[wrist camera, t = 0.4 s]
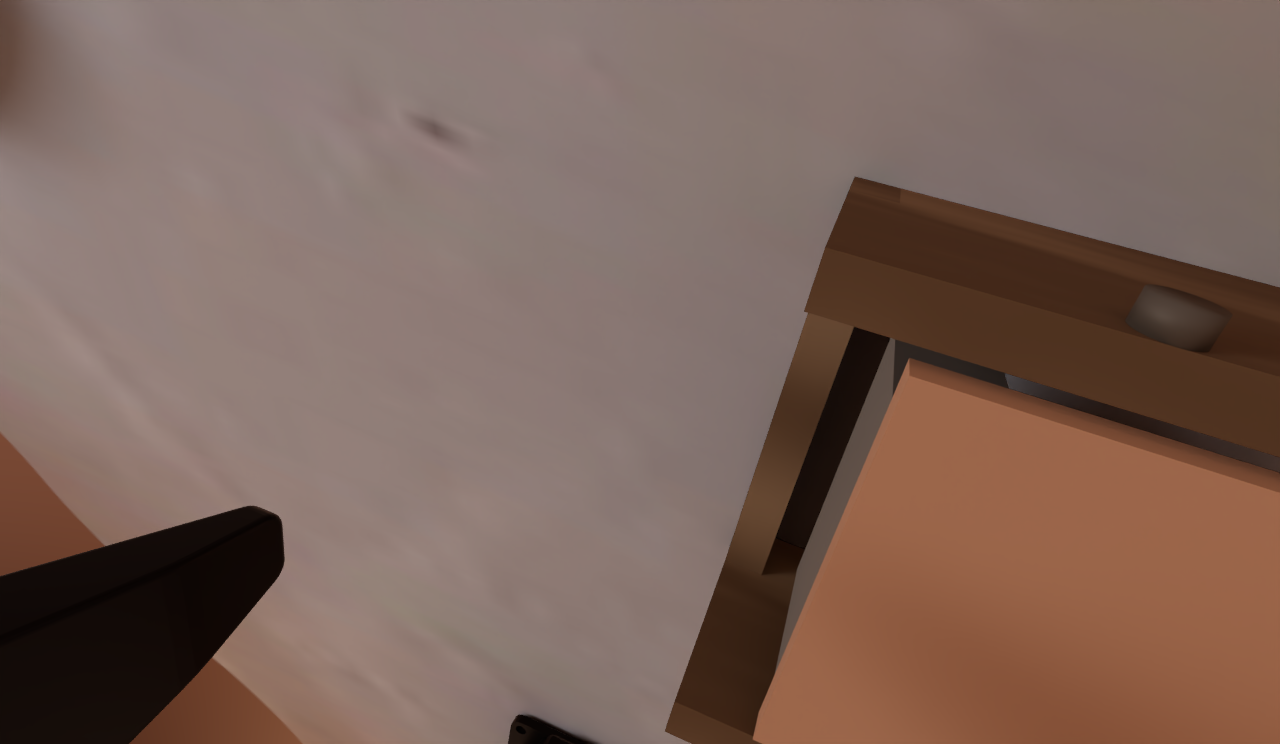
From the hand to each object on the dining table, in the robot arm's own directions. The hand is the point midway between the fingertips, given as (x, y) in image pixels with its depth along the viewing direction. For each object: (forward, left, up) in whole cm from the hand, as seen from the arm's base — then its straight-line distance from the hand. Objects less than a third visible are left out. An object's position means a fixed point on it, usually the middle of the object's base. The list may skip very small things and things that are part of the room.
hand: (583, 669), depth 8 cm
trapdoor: (-3, -9, -11) cm, 14 cm away
